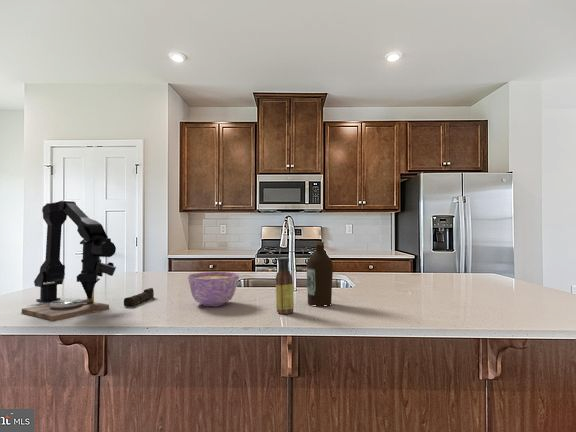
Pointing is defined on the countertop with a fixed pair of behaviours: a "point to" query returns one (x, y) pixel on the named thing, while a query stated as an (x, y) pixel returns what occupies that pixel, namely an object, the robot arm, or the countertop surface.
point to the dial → (70, 303)
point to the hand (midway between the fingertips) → (89, 298)
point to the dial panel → (63, 311)
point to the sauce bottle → (284, 287)
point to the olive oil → (319, 277)
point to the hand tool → (139, 297)
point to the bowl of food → (213, 287)
